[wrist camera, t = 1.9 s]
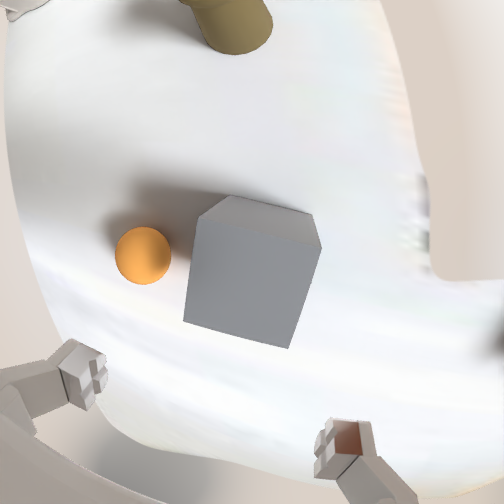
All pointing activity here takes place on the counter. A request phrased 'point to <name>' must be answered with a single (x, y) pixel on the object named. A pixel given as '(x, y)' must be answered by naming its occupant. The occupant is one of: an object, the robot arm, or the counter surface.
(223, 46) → the cork
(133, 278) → the ball
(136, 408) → the counter surface
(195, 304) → the block
